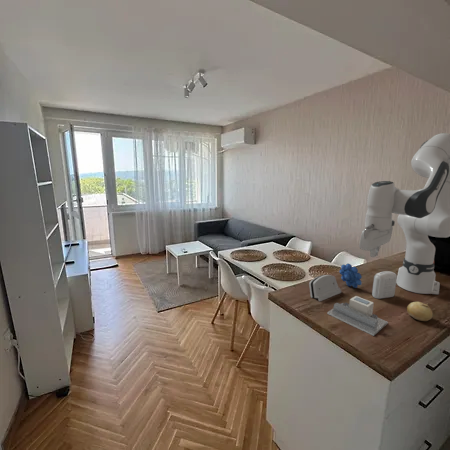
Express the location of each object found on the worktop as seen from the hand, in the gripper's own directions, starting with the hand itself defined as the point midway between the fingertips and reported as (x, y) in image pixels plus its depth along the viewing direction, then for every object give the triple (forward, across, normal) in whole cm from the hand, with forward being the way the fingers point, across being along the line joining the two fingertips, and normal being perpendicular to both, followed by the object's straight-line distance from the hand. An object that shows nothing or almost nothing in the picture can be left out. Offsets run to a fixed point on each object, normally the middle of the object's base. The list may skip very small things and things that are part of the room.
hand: (373, 256), depth 99 cm
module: (+23, -7, 0) cm, 24 cm away
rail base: (+24, -10, 0) cm, 26 cm away
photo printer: (+24, +18, +1) cm, 30 cm away
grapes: (+24, +15, +16) cm, 33 cm away
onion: (+24, +10, -15) cm, 30 cm away
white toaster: (+24, -1, +20) cm, 31 cm away
